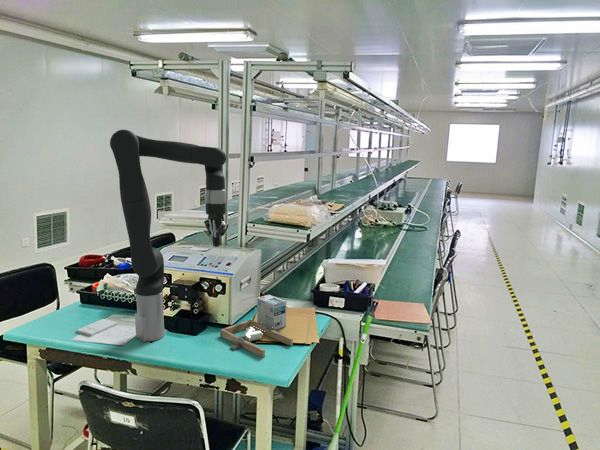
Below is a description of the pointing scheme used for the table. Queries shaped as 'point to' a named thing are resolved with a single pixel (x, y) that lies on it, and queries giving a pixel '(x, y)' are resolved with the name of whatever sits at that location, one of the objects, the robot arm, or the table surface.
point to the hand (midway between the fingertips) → (216, 246)
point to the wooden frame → (247, 345)
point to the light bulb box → (271, 312)
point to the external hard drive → (97, 327)
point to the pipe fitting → (252, 334)
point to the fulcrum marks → (238, 346)
